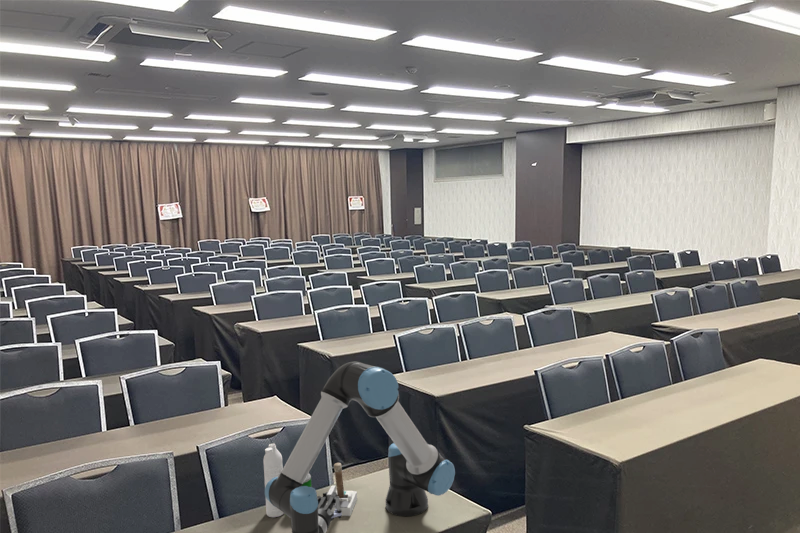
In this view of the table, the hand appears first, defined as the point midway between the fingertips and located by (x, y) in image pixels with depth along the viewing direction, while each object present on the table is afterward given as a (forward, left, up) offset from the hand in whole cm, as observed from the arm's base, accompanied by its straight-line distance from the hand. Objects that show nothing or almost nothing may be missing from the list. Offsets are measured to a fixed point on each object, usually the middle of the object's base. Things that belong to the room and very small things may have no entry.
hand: (333, 489), depth 193 cm
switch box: (+2, -9, -11) cm, 14 cm away
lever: (+2, -9, -7) cm, 11 cm away
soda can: (+16, -5, -11) cm, 20 cm away
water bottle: (+22, +3, -11) cm, 25 cm away
